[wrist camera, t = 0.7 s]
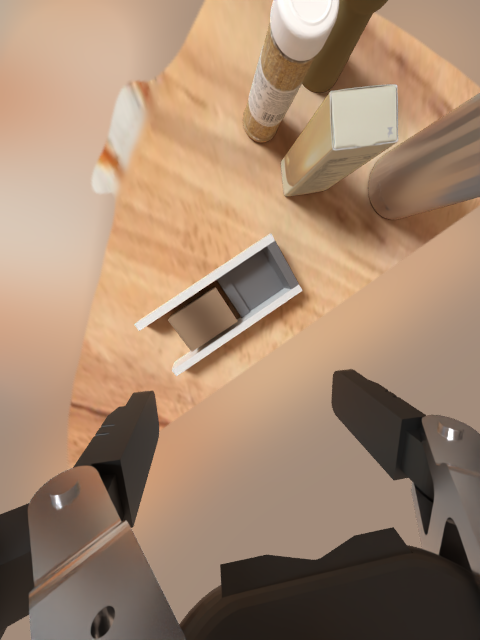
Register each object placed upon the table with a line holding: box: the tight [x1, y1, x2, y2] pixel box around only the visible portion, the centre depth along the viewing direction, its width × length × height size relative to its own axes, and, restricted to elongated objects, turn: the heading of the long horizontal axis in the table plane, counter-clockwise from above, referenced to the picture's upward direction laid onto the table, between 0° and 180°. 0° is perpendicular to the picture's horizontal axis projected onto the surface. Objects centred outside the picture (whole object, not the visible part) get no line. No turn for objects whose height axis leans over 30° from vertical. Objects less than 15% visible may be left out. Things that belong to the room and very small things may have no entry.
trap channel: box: [134, 234, 302, 376], centre depth 30 cm, size 20×8×3 cm, turn 123°
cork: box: [302, 0, 388, 93], centre depth 23 cm, size 6×6×11 cm
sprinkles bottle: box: [243, 0, 339, 142], centre depth 22 cm, size 5×5×14 cm
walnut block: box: [168, 287, 238, 352], centre depth 30 cm, size 7×5×4 cm
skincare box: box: [281, 84, 398, 196], centre depth 24 cm, size 6×4×12 cm
